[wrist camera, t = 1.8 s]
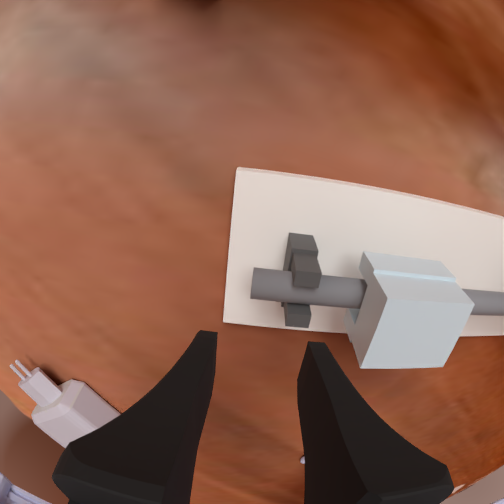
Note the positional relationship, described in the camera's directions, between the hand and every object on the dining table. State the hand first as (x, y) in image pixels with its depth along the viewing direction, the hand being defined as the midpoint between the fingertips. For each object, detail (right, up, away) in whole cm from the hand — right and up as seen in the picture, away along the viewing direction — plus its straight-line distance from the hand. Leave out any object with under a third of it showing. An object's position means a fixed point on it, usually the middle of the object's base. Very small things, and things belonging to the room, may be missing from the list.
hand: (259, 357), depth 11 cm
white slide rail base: (+13, +3, +9) cm, 16 cm away
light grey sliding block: (+8, +2, +6) cm, 10 cm away
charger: (-19, -12, +17) cm, 28 cm away
